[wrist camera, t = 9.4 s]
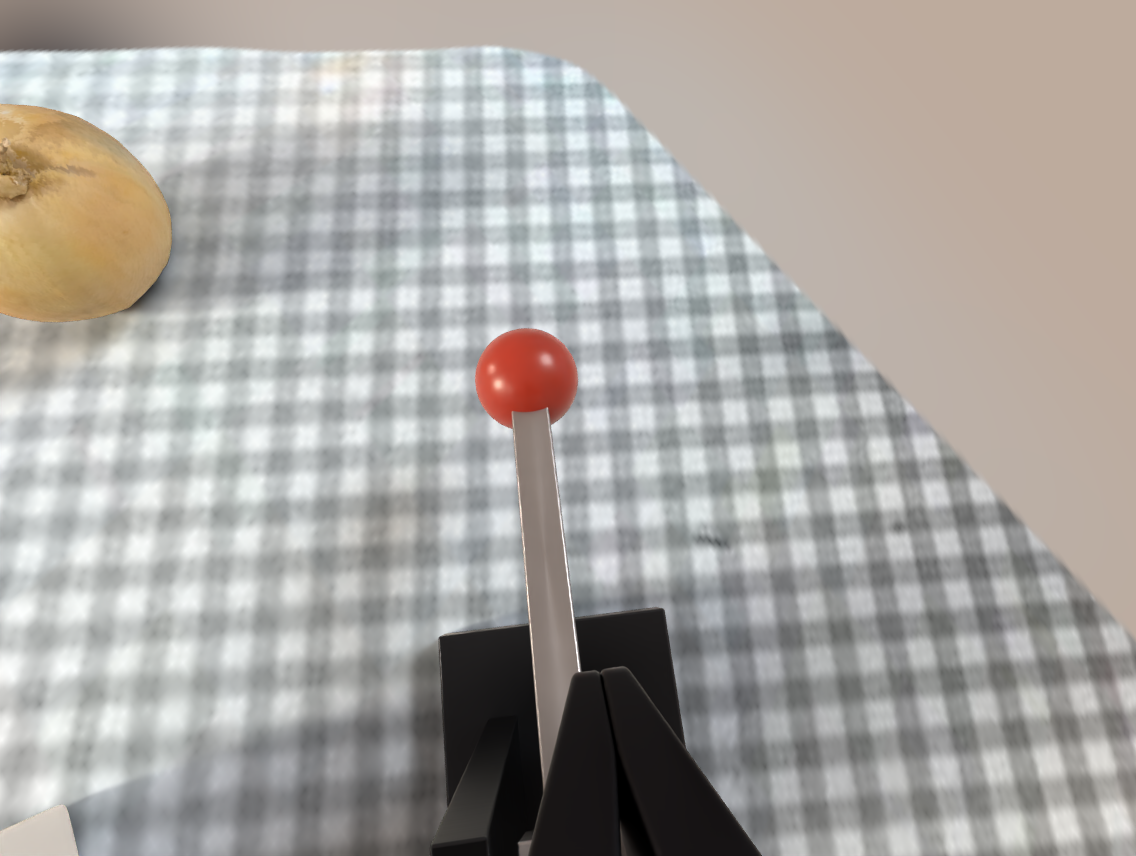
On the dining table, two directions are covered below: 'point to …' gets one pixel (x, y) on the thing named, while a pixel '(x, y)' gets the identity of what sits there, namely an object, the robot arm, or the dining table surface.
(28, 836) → the milk carton
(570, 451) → the dining table surface
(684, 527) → the dining table surface
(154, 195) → the onion
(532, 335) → the lever
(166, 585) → the dining table surface
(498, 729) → the bracket
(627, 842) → the robot arm
